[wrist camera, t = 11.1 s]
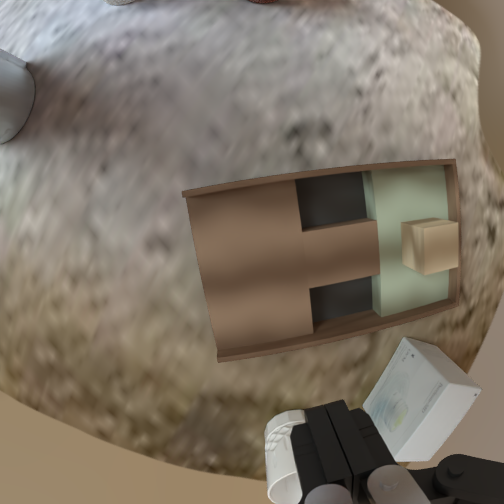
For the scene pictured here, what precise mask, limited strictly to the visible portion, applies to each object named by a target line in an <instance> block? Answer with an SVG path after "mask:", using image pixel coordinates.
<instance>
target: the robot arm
mask: <svg viewBox="0 0 504 504" xmlns="http://www.w3.org/2000/svg"><path fill="white" fill-rule="evenodd" d="M34 95H35V84H34V79H33V77H32V75H31V73H30V72H29V71H28V70H27V69H26V62H25V61H23V60H21V59H20V58H18V57H16V56H14V55H12V54H10V53H8V52H6V51H4V50H2V49H0V144H2V143H5V142H7V141H9V140H10V139H12V138H13V137H14V136H15V135H16V134H17V133H18V132H19V130H20V129H21V128H22V127H23V125H24V123H25V122H26V120H27V118H28V116H29V113H30V111H31V108H32V105H33V101H34ZM304 416H305V423H303V424H298V425H294V426H293V428H292V431H291V434H290V440H291V445H292V451H293V456H294V461H295V465H296V469H297V473H298V478H299V482H300V486H301V490H302V498H301V500H300V501H299V503H298V504H504V463H500V462H495V461H490V460H485V459H481V458H476V457H471V456H467V455H463V454H454V455H450V456H448V457H446V458H444V459H443V460H442V461H441V462H440V463H439V464H438V466H437V467H433V468H427V469H421V470H409V469H406V468H404V467H402V466H400V465H399V464H397V463H396V461H395V460H394V458H393V456H392V454H391V452H390V451H389V449H388V447H387V445H386V444H385V442H384V440H383V438H382V436H381V435H380V434H379V431H378V429H377V428H376V426H375V424H374V422H373V421H372V419H371V417H370V415H369V414H367V413H366V412H364V411H363V410H362V409H360V408H357V409H354V410H351V411H349V409H348V407H347V405H346V403H345V402H344V400H343V399H342V400H339V401H335V402H331V403H328V404H324V406H323V405H321V406H317V407H313V408H309V409H304Z"/></svg>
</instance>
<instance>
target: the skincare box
mask: <svg viewBox="0 0 504 504" xmlns="http://www.w3.org/2000/svg"><path fill="white" fill-rule="evenodd" d="M481 390H482V388H481V387H480V386H479V385H478V384H476V383H475V382H474V381H473V380H472V379H471V378H470V377H469V376H468V375H467V374H466V373H465V372H464V371H463V370H462V369H461V368H460V367H458V366H457V365H456V364H455V363H454V362H453V361H452V360H451V359H450V358H449V357H448V356H447V355H446V354H444V353H443V352H442V351H441V350H440V349H439V348H438V347H437V346H435V345H432V344H428V343H425V342H422V341H418V340H415V339H412V338H408V337H403V339H402V340H401V342H400V344H399V346H398V348H397V350H396V351H395V353H394V355H393V357H392V358H391V360H390V362H389V364H388V365H387V367H386V369H385V370H384V372H383V374H382V375H381V377H380V379H379V380H378V382H377V384H376V385H375V387H374V388H373V390H372V391H371V393H370V395H369V396H368V398H367V399H366V401H365V402H364V404H363V408H364V410H365V411H366V413H367V414H369V415H370V417H371V419H372V421H373V422H374V424H375V426H376V428H377V429H378V431H379V434H380V435H381V436H382V438H383V440H384V442H385V444H386V445H387V447H388V449H389V451H390V452H391V454H392V456H393V458H394V460H395V461H396V462H412V461H429V460H430V458H431V457H432V456H433V455H434V454H435V453H436V451H437V450H438V449H439V448H440V446H441V445H442V444H443V443H444V442H445V440H446V439H447V438H448V436H449V435H450V434H451V433H452V432H453V430H454V429H455V427H456V426H457V425H458V424H459V422H460V421H461V420H462V418H463V417H464V415H465V414H466V413H467V411H468V410H469V408H470V407H471V405H472V404H473V402H474V401H475V399H476V398H477V396H478V395H479V393H480V392H481Z"/></svg>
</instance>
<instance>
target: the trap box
mask: <svg viewBox="0 0 504 504" xmlns="http://www.w3.org/2000/svg"><path fill="white" fill-rule="evenodd" d="M182 196H183V197H186V202H187V207H188V213H189V218H190V224H191V229H192V234H193V240H194V245H195V250H196V255H197V260H198V265H199V269H200V274H201V279H202V284H203V288H204V293H205V298H206V302H207V307H208V311H209V316H210V320H211V324H212V329H213V333H214V337H215V341H216V345H217V350H218V351H217V361H218V363H220V362H227V361H234V360H241V359H247V358H253V357H259V356H265V355H271V354H277V353H282V352H287V351H292V350H298V349H302V348H307V347H312V346H317V345H321V344H326V343H330V342H335V341H339V340H343V339H347V338H352V337H356V336H360V335H364V334H367V333H371V332H375V331H379V330H383V329H386V328H390V327H393V326H397V325H400V324H404V323H407V322H410V321H414V320H417V319H420V318H424V317H427V316H430V315H433V314H436V313H439V312H442V311H445V310H448V309H451V308H454V307H457V306H459V295H460V277H461V216H460V199H459V186H458V176H457V167H456V159H437V160H419V161H403V162H390V163H377V164H366V165H356V166H346V167H336V168H328V169H319V170H311V171H303V172H295V173H288V174H281V175H274V176H267V177H260V178H254V179H248V180H241V181H235V182H229V183H224V184H218V185H212V186H207V187H201V188H196V189H191V190H186V191H182ZM432 217H434V218H439V219H444V220H449V221H453V222H458V240H459V248H458V267H456V268H452V269H448V270H444V271H440V272H436V273H432V274H428V275H423V274H421V273H419V272H417V271H415V270H413V269H411V268H409V267H407V266H405V265H403V264H402V239H401V222H406V221H412V220H419V219H426V218H432Z"/></svg>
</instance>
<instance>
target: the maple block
mask: <svg viewBox="0 0 504 504" xmlns="http://www.w3.org/2000/svg"><path fill="white" fill-rule="evenodd" d="M401 239H402V264H403V265H405V266H407V267H409V268H411V269H413V270H415V271H417V272H419V273H421V274H423V275H428V274H432V273H436V272H440V271H444V270H448V269H452V268H456V267H458V248H459V240H458V222H453V221H449V220H444V219H439V218H434V217H432V218H426V219H419V220H412V221H406V222H401Z"/></svg>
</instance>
